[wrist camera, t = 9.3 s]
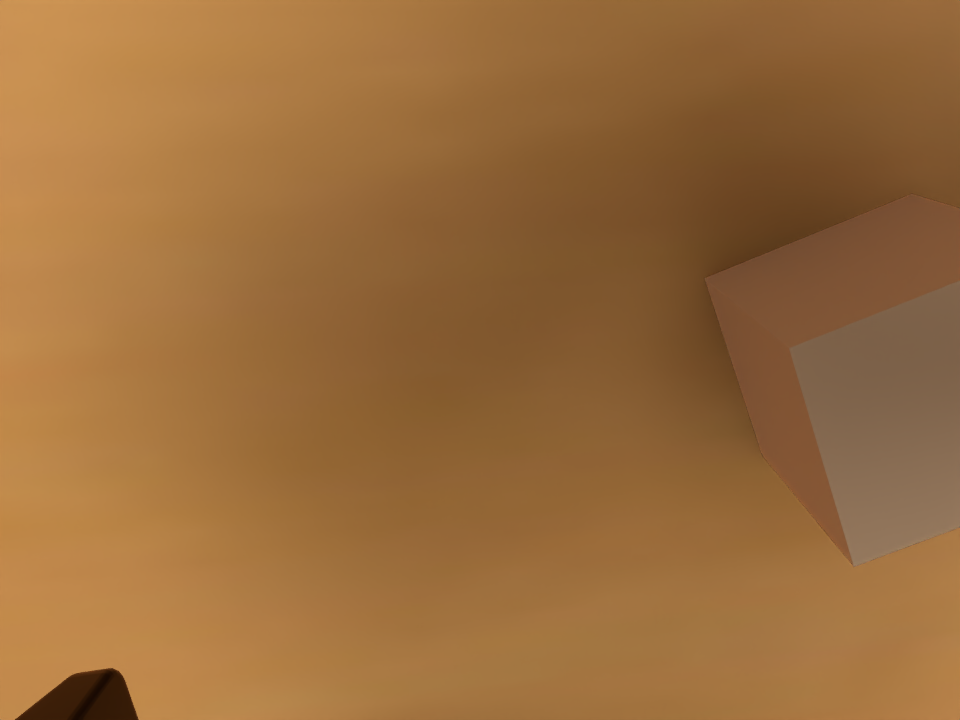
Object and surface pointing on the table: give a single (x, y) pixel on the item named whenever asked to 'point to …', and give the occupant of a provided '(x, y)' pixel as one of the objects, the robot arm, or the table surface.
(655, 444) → the table surface
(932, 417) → the grey cube
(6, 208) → the table surface
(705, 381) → the table surface
